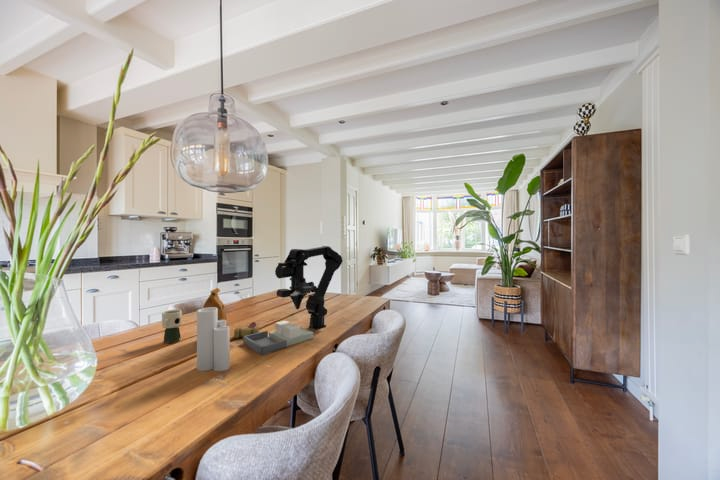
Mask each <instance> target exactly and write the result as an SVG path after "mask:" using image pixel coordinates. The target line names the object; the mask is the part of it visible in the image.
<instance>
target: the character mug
mask: <svg viewBox="0 0 720 480" xmlns="http://www.w3.org/2000/svg"><path fill="white" fill-rule="evenodd" d="M182 312H183V311H182V310H181V309H170V310H165V311H163V312H162V313H161V326H162V328H163V329H165V330H164V334H163V343H169V344H172V343H176V342H179V341H180V340H181V332H180V331H181V330H180V327H181V326H182V323H183V322H182V316H183V313H182Z"/></svg>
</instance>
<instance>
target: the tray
mask: <svg viewBox="0 0 720 480" xmlns="http://www.w3.org/2000/svg"><path fill="white" fill-rule="evenodd" d="M242 340H243V342H242V343H243V345H245V346H246V347H248V348H250V349H251V350H253V351H254V352H255V353H257V354H259V355H261V356H264V355H266V354H267V355H268V354H271V353H273V352H278V351H280V350H283V349H286V348H287V347H288V346H287V340H283V341H280V342H277V341H275V340H273V339H271V338H270V337H269V331H268V330H264V331H259V333H255V334H251V335H247V336H243V338H242Z"/></svg>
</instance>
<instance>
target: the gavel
mask: <svg viewBox="0 0 720 480" xmlns="http://www.w3.org/2000/svg"><path fill="white" fill-rule="evenodd" d="M256 325H257V324H256V322H255V321H253V322H251V323H250V324H249V325H248V326H247V327H243V328H241V327H235V328H234V332H233V336H234V339H240V338H242V339H243V336H247V335H251V334H255V333H259V332H260V327H259V326H256Z"/></svg>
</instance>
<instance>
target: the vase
mask: <svg viewBox="0 0 720 480" xmlns="http://www.w3.org/2000/svg"><path fill="white" fill-rule="evenodd" d="M230 339H231V338H230V326H227V323H226V320H218V310H217V308H215V307H209V308H203V307H202V308H199V309H197V310H196V368H197V371H200V372H206V371H207V372H208V371H211V370H213V371H215V372H225V371H227V370H229V369H230V368H231V367H230V365H231V364H230V363H231V360H230V359H231V357H230V355H231V353H230V350H231V349H230V347H231V345H230Z"/></svg>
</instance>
